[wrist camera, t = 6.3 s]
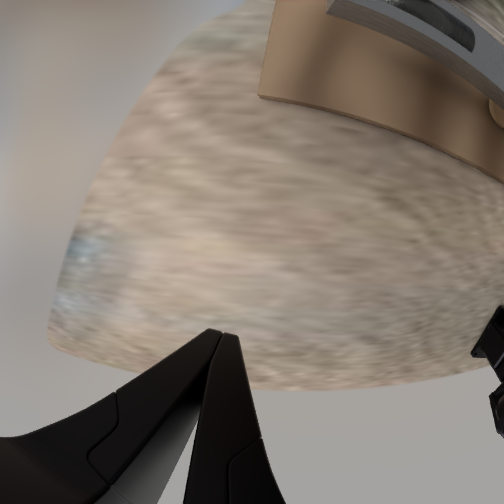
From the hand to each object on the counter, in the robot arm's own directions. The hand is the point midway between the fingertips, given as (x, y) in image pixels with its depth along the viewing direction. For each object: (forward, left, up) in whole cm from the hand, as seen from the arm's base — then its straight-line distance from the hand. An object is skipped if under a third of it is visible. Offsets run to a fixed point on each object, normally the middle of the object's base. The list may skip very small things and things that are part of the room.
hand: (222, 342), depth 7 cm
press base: (-10, -13, -13) cm, 21 cm away
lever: (-10, -13, -7) cm, 18 cm away
